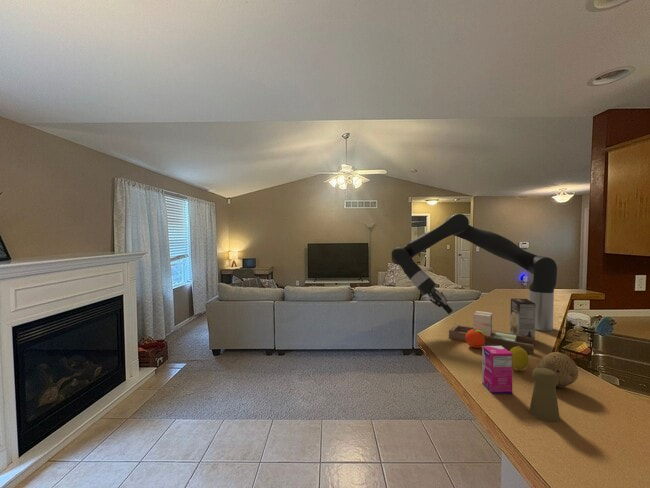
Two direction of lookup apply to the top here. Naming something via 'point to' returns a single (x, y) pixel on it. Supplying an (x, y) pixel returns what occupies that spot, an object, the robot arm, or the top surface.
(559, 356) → the natural sponge
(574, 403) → the top surface
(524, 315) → the coffee box
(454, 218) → the robot arm
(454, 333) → the walnut lane
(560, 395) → the top surface
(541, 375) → the olive tapered cylinder
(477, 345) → the clementine
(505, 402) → the top surface
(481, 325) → the cream block
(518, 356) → the lemon
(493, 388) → the supplement box
